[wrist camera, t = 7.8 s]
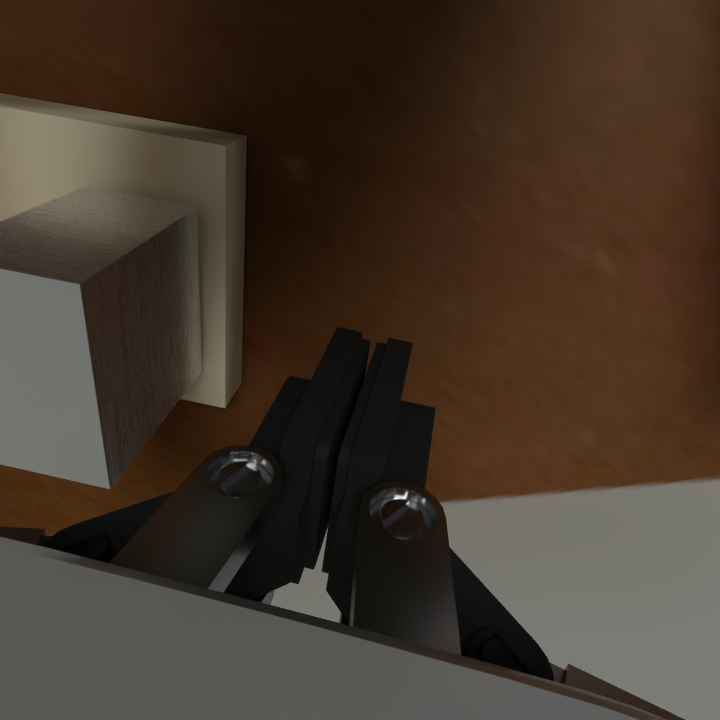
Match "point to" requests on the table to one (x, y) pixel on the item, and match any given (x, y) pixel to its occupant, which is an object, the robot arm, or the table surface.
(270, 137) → the table surface
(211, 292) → the board
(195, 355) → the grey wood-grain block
